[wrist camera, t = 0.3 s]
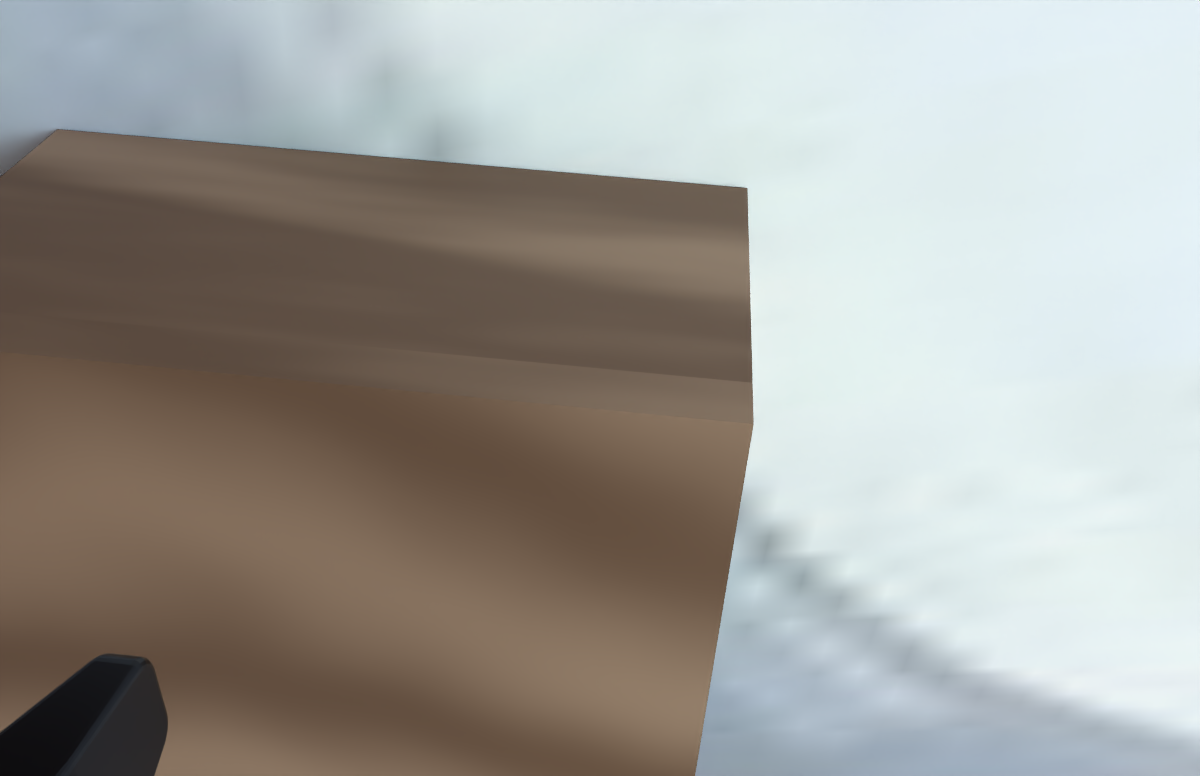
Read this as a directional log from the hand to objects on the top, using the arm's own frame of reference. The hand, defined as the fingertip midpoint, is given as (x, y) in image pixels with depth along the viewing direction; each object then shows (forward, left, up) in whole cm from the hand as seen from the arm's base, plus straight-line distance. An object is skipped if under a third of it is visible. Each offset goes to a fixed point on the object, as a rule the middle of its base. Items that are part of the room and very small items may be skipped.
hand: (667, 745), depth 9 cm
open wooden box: (-10, +6, -14) cm, 18 cm away
